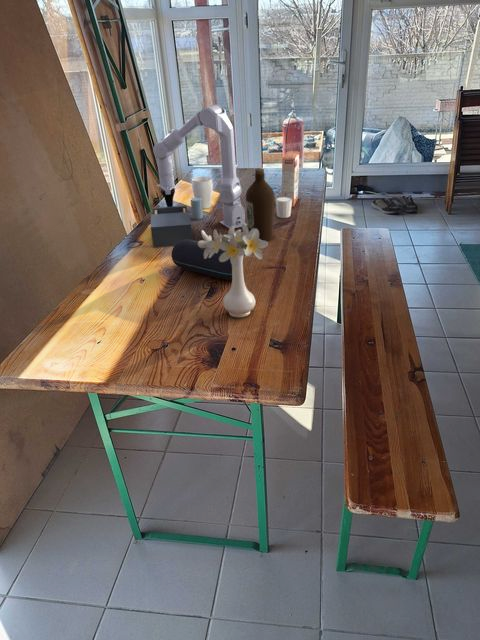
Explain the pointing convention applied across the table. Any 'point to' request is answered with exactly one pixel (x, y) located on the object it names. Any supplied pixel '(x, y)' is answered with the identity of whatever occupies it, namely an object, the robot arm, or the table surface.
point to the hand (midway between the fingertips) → (169, 207)
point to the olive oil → (260, 206)
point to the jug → (196, 208)
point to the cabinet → (170, 228)
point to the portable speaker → (200, 260)
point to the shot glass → (283, 207)
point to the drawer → (169, 209)
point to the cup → (203, 190)
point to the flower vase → (235, 264)
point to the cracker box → (290, 175)
